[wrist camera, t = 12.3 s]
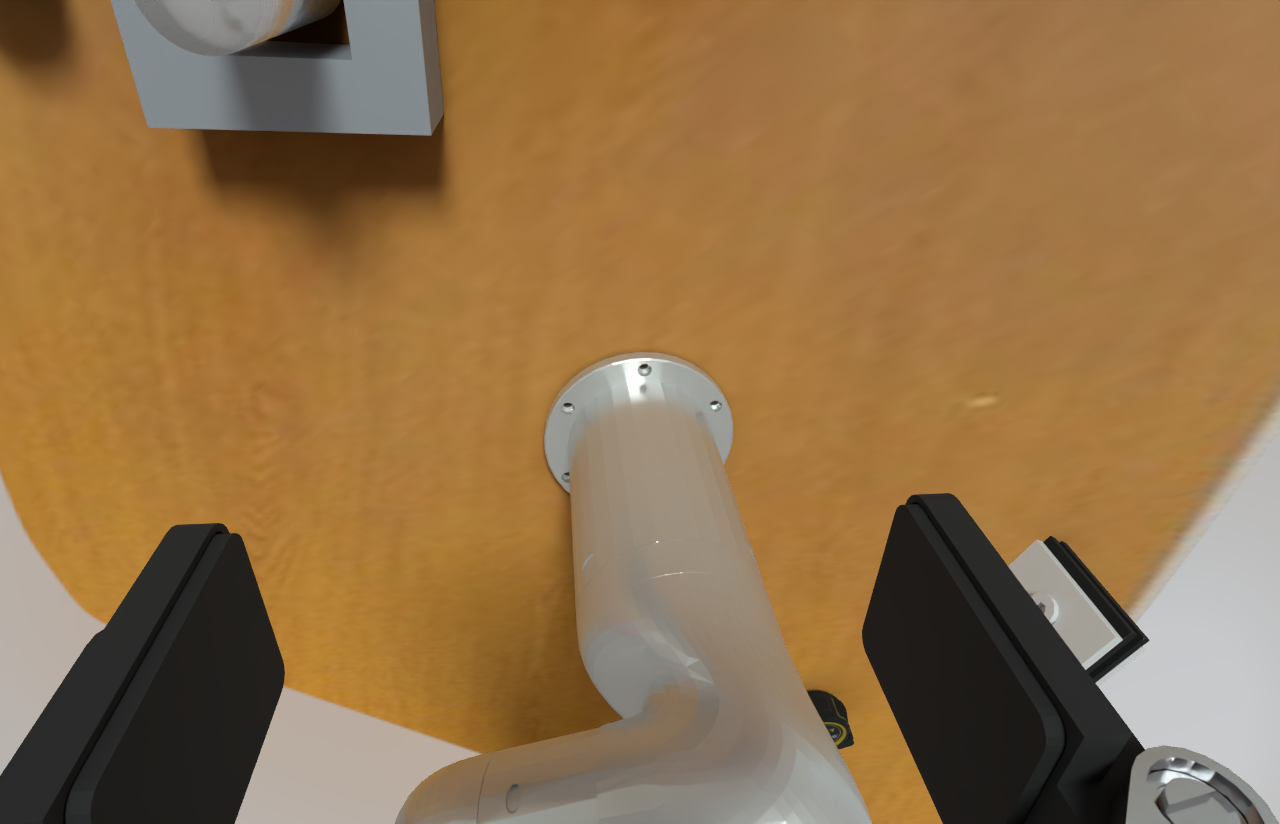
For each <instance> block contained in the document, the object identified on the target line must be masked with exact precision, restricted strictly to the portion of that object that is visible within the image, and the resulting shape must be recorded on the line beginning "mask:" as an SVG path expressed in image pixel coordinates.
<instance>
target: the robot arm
mask: <svg viewBox="0 0 1280 824" xmlns="http://www.w3.org/2000/svg"><path fill="white" fill-rule="evenodd" d="M642 364H646V365H645V366H641V365H642ZM712 401H713V402H712ZM565 403H569V404H565ZM732 441H733V421H732V416H731V411H730V408H729V406H728V403H727V401H726V398H725V396H724V395H723V393H722V391H721V390H720V388H719V386H718V385H717V383H716V382H715V381H714V380H713V379H712V378H711V377H710V376H709V375H708V374H707V373H706V372H704V371H703V370H701V369H700V368H698V367H697V366H695V365H694V364H692V363H690V362H688V361H685V360H683V359H680V358H678V357H675V356H671V355H666V354H661V353H650V352H636V353H628V354H621V355H617V356H614V357H611V358H607V359H604V360H601V361H599V362H597V363H595V364H593V365H591V366H589V367H588V368H586V369H584V370H583V371H581V372H580V373H579V374H577V375H576V376H575V377H573V378H572V379H571V380H570V381H569V382H568V383H567V384H566V385H565V386H564V388H563V389H562V390H561V391H560V392H559V393H558V395H557V397H556V398H555V400H554V402H553V403H552V405H551V407H550V410H549V413H548V416H547V419H546V422H545V433H544V444H545V454H546V458H547V462H548V466H549V467H550V469H551V471H552V473H553V475H554V477H555V479H556V480H557V481H558V482H559V483H560V485H561V486H562V487H563V488H564V489H565V490H566V491H567V492H568V493H570V497H571V518H572V540H573V561H574V582H575V604H576V622H577V638H578V644H579V650H580V654H581V657H582V660H583V664H584V667H585V669H586V671H587V673H588V675H589V677H590V679H591V680H592V682H593V684H594V686H595V687H596V689H597V690H598V691H599V693H600V694H601V695H602V696H603V698H604V699H605V700H606V701H607V703H608V704H609V705H610V706H611V707H612V708H613V709H614V710H615V711H616V712H617V713H618V714H619V715H620V716H621V717H622V718H623V719H622V720H618V721H615V722H611V723H607V724H603V725H602V726H601V727H599V728H595V729H590V730H586V731H581V732H577V733H573V734H568V735H564V736H560V737H555V738H551V739H546V740H542V741H538V742H533V743H529V744H525V745H520V746H516V747H511V748H507V749H503V750H499V751H494V752H490V753H486V754H482V755H478V756H475V757H471V758H468V759H465V760H461V761H458V762H456V763H453V764H451V765H449V766H446V767H444V768H442V769H440V770H438V771H436V772H435V773H433V774H432V775H430V776H429V777H428V778H426V779H425V780H424V781H422V782H421V783H420V784H419V785H418V786H417V787H416V789H415V790H414V791H413V792H412V793H411V794H410V795H409V797H408V798H407V800H406V802H405V803H404V805H403V807H402V808H401V810H400V812H399V814H398V816H397V819H396V821H395V824H872V822H871V819H870V816H869V813H868V810H867V807H866V804H865V802H864V800H863V798H862V796H861V793H860V791H859V789H858V787H857V785H856V783H855V781H854V778H853V776H852V774H851V772H850V770H849V768H848V766H847V764H846V763H845V761H844V759H843V757H842V755H841V754H840V752H839V750H838V748H837V746H836V745H835V743H834V741H833V739H832V737H831V736H830V734H829V732H828V730H827V728H826V727H825V725H824V723H823V721H822V719H821V718H820V716H819V714H818V712H817V710H816V708H815V707H814V705H813V703H812V701H811V699H810V697H809V695H808V693H807V691H806V689H805V687H804V685H803V683H802V681H801V679H800V676H799V674H798V672H797V670H796V668H795V666H794V663H793V661H792V659H791V656H790V654H789V651H788V649H787V647H786V644H785V642H784V639H783V636H782V634H781V631H780V628H779V625H778V623H777V620H776V617H775V614H774V612H773V609H772V606H771V603H770V600H769V597H768V594H767V591H766V588H765V585H764V583H763V580H762V577H761V574H760V571H759V568H758V565H757V562H756V559H755V556H754V553H753V550H752V547H751V544H750V541H749V538H748V536H747V533H746V530H745V527H744V524H743V521H742V518H741V515H740V512H739V509H738V506H737V503H736V500H735V498H734V495H733V492H732V489H731V486H730V483H729V480H728V477H727V474H726V471H725V468H724V464H725V462H726V460H727V458H728V456H729V453H730V449H731V445H732ZM862 638H863V645H864V649H865V652H866V654H867V656H868V659H869V661H870V663H871V665H872V668H873V670H874V672H875V674H876V676H877V679H878V681H879V683H880V685H881V687H882V690H883V692H884V694H885V696H886V699H887V701H888V703H889V705H890V707H891V710H892V712H893V714H894V716H895V718H896V721H897V723H898V725H899V727H900V730H901V732H902V734H903V736H904V738H905V741H906V743H907V745H908V747H909V749H910V752H911V754H912V756H913V758H914V761H915V763H916V765H917V767H918V769H919V772H920V774H921V776H922V778H923V780H924V783H925V785H926V787H927V789H928V791H929V794H930V796H931V798H932V800H933V803H934V805H935V807H936V809H937V811H938V814H939V816H940V818H941V820H942V822H943V824H1279V823H1278V821H1277V820H1276V818H1275V816H1274V815H1273V813H1272V812H1271V810H1270V808H1269V807H1268V805H1267V804H1266V802H1264V800H1263V799H1262V798H1261V797H1260V796H1259V795H1258V794H1257V793H1256V792H1255V791H1254V790H1253V788H1252V787H1251V786H1250V785H1249V784H1247V783H1246V782H1245V781H1244V780H1242V779H1241V778H1240V777H1238V776H1237V775H1236V774H1234V773H1233V772H1232V771H1231V770H1229V769H1228V768H1226V767H1224V766H1223V765H1221V764H1219V763H1217V762H1216V761H1214V760H1212V759H1210V758H1208V757H1207V756H1204V755H1201V754H1199V753H1196V752H1193V751H1190V750H1187V749H1185V748H1178V747H1170V746H1159V747H1153V748H1148V749H1146V750H1145V749H1144V748H1143V746H1142V745H1141V744H1140V742H1139V741H1138V740H1137V738H1136V737H1135V736H1134V734H1133V733H1132V732H1131V730H1130V729H1129V728H1128V726H1127V725H1126V724H1125V722H1124V721H1123V720H1122V718H1121V717H1120V716H1119V714H1118V713H1117V712H1116V710H1115V709H1114V707H1113V706H1112V705H1111V703H1110V702H1109V701H1108V700H1107V698H1106V697H1105V695H1104V694H1103V693H1102V691H1101V690H1100V689H1099V687H1098V686H1097V685H1096V683H1095V682H1094V681H1093V679H1092V678H1091V677H1090V675H1089V674H1088V673H1087V671H1086V670H1085V669H1084V667H1083V666H1082V665H1081V663H1080V662H1079V660H1078V659H1077V658H1076V656H1075V655H1074V654H1073V652H1072V651H1071V650H1070V648H1069V647H1068V646H1067V644H1066V643H1065V642H1064V640H1063V639H1062V638H1061V636H1060V635H1059V634H1058V632H1057V631H1056V630H1055V628H1054V627H1053V626H1052V624H1051V623H1050V622H1049V620H1048V619H1047V618H1046V616H1045V615H1044V614H1043V612H1042V611H1041V609H1040V608H1039V607H1038V605H1037V604H1036V603H1035V601H1034V600H1033V599H1032V597H1031V596H1030V595H1029V593H1028V592H1027V591H1026V590H1025V589H1024V587H1023V586H1022V584H1021V583H1020V582H1019V580H1018V579H1017V578H1016V576H1015V575H1014V574H1013V572H1012V571H1011V570H1010V568H1009V567H1008V566H1007V564H1006V563H1005V562H1004V560H1003V559H1002V558H1001V556H1000V555H999V554H998V552H997V551H996V550H995V548H994V547H993V546H992V544H991V543H990V542H989V540H988V539H987V537H986V536H985V535H984V533H983V532H982V531H981V529H980V528H979V527H978V525H977V524H976V523H975V521H974V520H973V519H972V517H971V516H970V515H969V513H968V512H967V511H966V509H965V508H964V507H963V505H962V504H961V503H960V501H959V500H958V499H957V498H956V497H955V496H954V495H952V494H950V493H944V494H920V495H912V496H911V497H910V498H909V499H908V500H907V502H906V505H900V506H899V507H898V508H897V510H896V512H895V515H894V519H893V522H892V526H891V529H890V533H889V536H888V540H887V543H886V547H885V551H884V554H883V558H882V561H881V565H880V568H879V572H878V575H877V579H876V582H875V586H874V589H873V593H872V596H871V600H870V604H869V607H868V611H867V614H866V618H865V621H864V625H863V630H862ZM284 675H285V670H284V663H283V659H282V656H281V653H280V650H279V647H278V644H277V641H276V638H275V635H274V632H273V629H272V626H271V623H270V620H269V617H268V614H267V611H266V608H265V605H264V602H263V599H262V596H261V593H260V590H259V587H258V584H257V581H256V578H255V575H254V572H253V569H252V566H251V563H250V560H249V557H248V554H247V551H246V548H245V545H244V542H243V540H242V538H241V536H240V535H239V534H236V533H229V531H228V529H227V527H226V526H225V525H224V524H220V523H212V524H188V525H176V526H173V527H171V529H170V530H169V531H168V532H167V533H166V535H165V536H164V538H163V539H162V541H161V543H160V544H159V546H158V547H157V549H156V550H155V552H154V553H153V555H152V556H151V558H150V559H149V561H148V563H147V564H146V566H145V567H144V569H143V570H142V572H141V573H140V575H139V576H138V578H137V579H136V581H135V583H134V584H133V586H132V587H131V589H130V590H129V592H128V593H127V595H126V596H125V598H124V600H123V601H122V603H121V604H120V606H119V607H118V609H117V610H116V612H115V613H114V615H113V616H112V618H111V620H110V621H109V623H108V624H107V626H106V627H105V629H104V630H102V631H100V632H99V633H97V634H96V635H95V636H94V637H93V638H92V639H91V641H90V642H89V643H88V644H87V645H86V647H85V648H84V650H83V652H82V653H81V654H80V656H79V657H78V659H77V661H76V662H75V664H74V665H73V667H72V668H71V670H70V671H69V673H68V674H67V676H66V677H65V679H64V680H63V682H62V683H61V685H60V686H59V688H58V689H57V691H56V692H55V694H54V695H53V697H52V699H51V700H50V702H49V703H48V704H47V706H46V708H45V709H44V710H43V712H42V714H41V715H40V717H39V718H38V720H37V721H36V723H35V724H34V726H33V727H32V729H31V730H30V732H29V733H28V735H27V736H26V738H25V739H24V741H23V743H22V744H21V745H20V747H19V748H18V750H17V751H16V753H15V754H14V756H13V758H12V759H11V761H10V762H9V764H8V765H7V767H6V768H5V770H4V771H3V773H2V774H1V776H0V824H234V823H235V821H236V818H237V815H238V812H239V809H240V806H241V804H242V801H243V798H244V796H245V792H246V790H247V787H248V784H249V782H250V779H251V775H252V773H253V770H254V768H255V765H256V762H257V759H258V756H259V754H260V751H261V748H262V745H263V742H264V739H265V737H266V734H267V731H268V728H269V725H270V723H271V720H272V717H273V714H274V711H275V709H276V706H277V703H278V700H279V697H280V695H281V692H282V688H283V684H284Z"/></svg>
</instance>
